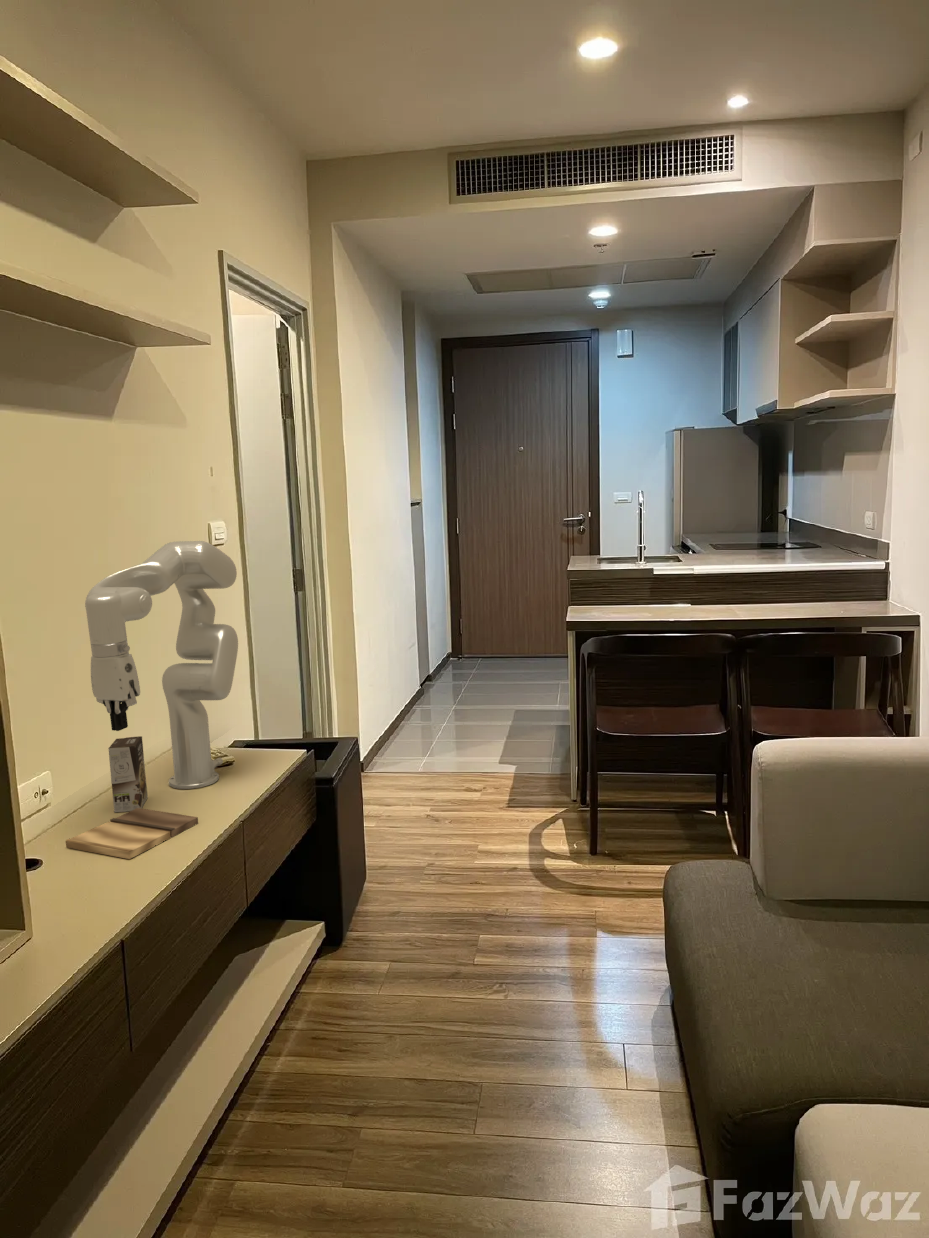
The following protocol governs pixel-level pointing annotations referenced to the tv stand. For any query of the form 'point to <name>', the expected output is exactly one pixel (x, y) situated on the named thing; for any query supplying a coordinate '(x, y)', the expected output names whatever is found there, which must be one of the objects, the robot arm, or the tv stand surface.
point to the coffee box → (128, 774)
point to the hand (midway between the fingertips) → (120, 728)
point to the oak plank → (118, 840)
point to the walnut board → (157, 820)
